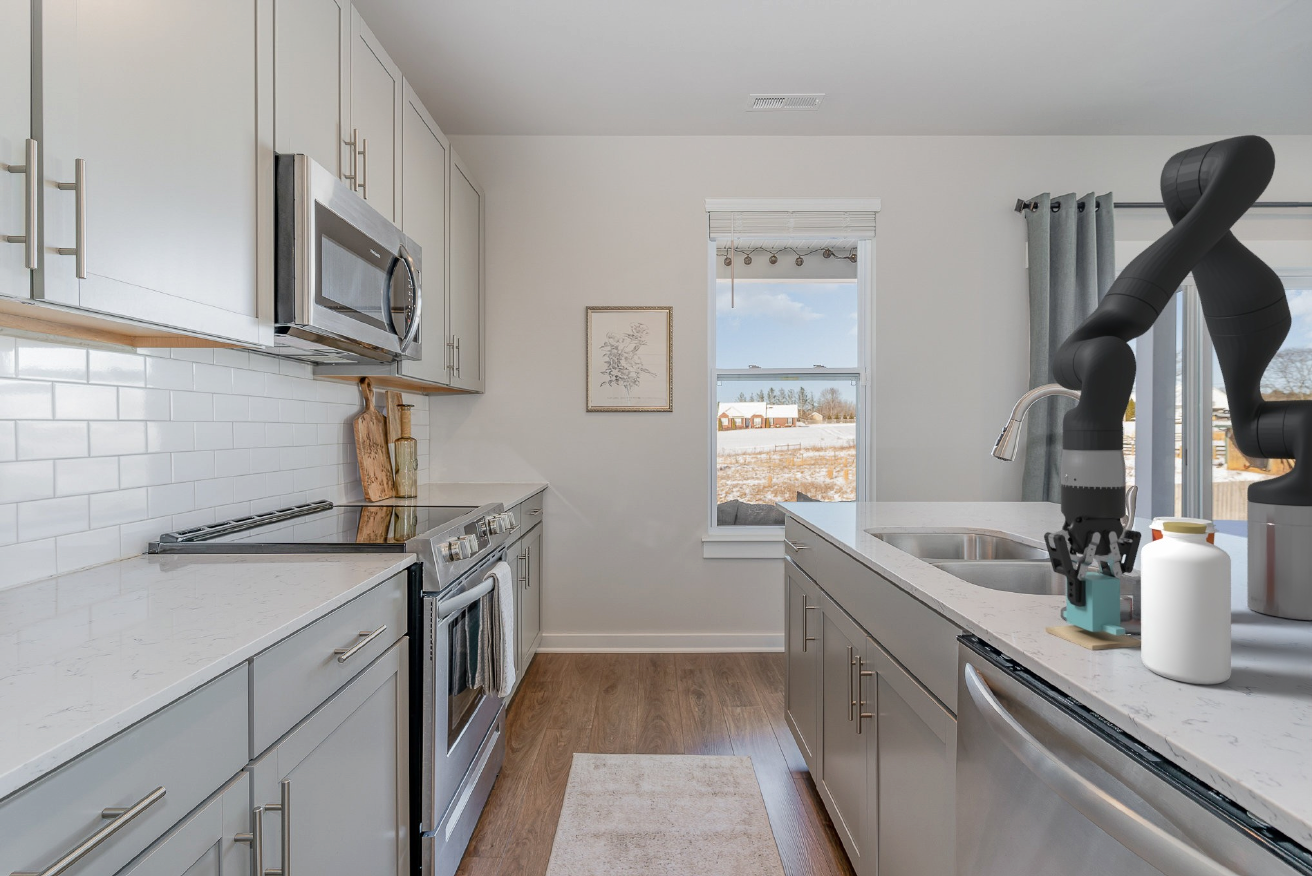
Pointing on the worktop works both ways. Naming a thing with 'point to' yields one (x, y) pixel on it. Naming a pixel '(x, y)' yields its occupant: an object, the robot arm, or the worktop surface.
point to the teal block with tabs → (1098, 605)
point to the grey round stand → (1128, 608)
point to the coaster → (1093, 637)
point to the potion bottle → (1186, 606)
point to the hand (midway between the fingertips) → (1093, 603)
